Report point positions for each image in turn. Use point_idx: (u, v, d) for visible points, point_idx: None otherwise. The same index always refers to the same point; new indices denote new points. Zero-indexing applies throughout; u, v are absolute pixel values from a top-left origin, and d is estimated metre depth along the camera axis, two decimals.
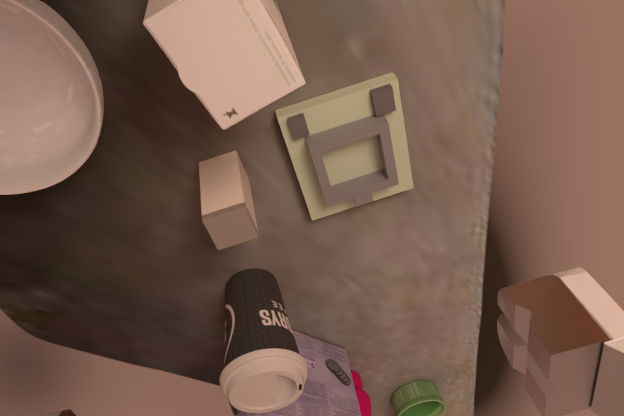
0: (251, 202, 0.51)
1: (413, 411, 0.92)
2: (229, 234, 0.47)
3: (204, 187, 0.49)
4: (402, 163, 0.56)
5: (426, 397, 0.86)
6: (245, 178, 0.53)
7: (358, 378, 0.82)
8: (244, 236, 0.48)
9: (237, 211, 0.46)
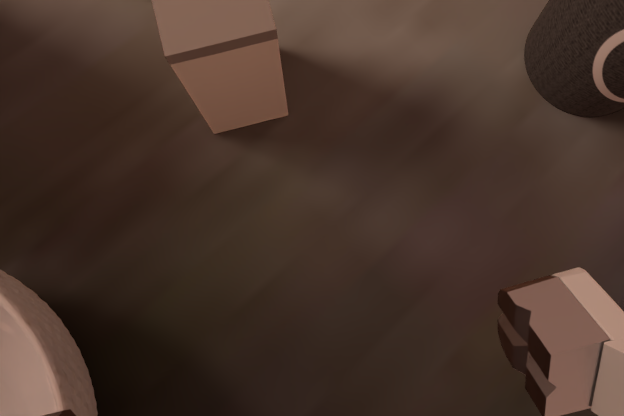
0: None
1: None
2: None
3: None
4: None
5: None
6: None
7: None
8: None
9: None
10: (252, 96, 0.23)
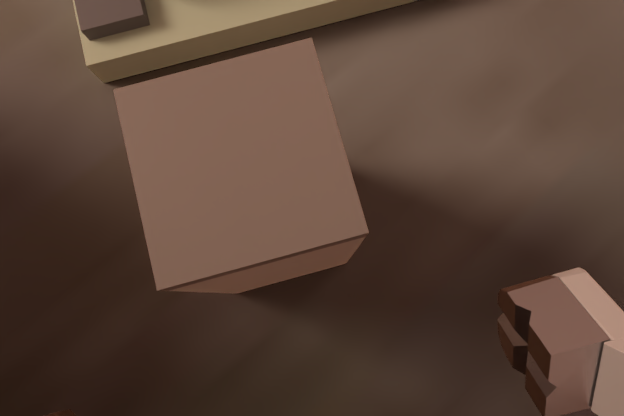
0: None
1: None
2: (269, 168, 0.10)
3: None
4: None
5: None
6: None
7: None
8: (295, 101, 0.10)
9: (133, 125, 0.10)
10: (301, 269, 0.15)
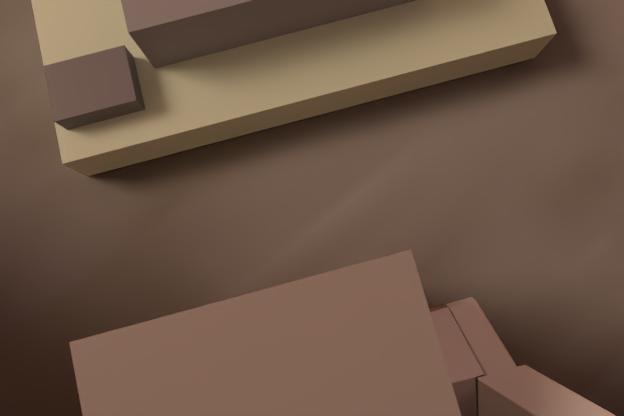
0: None
1: None
2: None
3: None
4: None
5: None
6: None
7: None
8: (385, 369, 0.06)
9: (102, 409, 0.06)
10: None
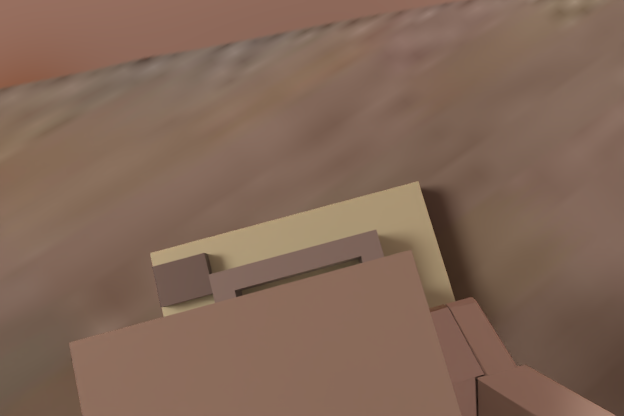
0: None
1: None
2: None
3: None
4: (348, 216, 0.26)
5: None
6: None
7: None
8: (386, 370, 0.06)
9: (102, 411, 0.06)
10: None
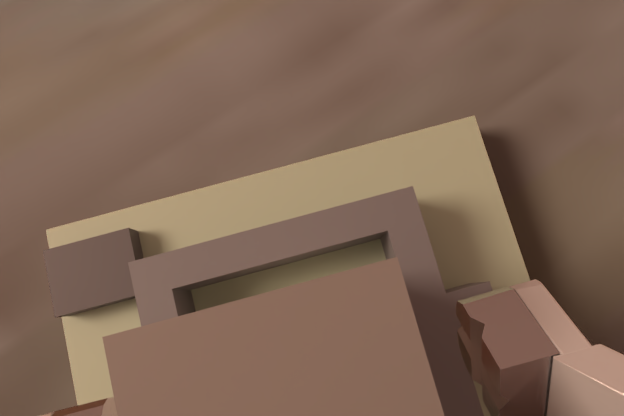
0: None
1: None
2: None
3: None
4: (363, 171, 0.16)
5: None
6: None
7: None
8: (374, 360, 0.07)
9: (131, 395, 0.07)
10: None
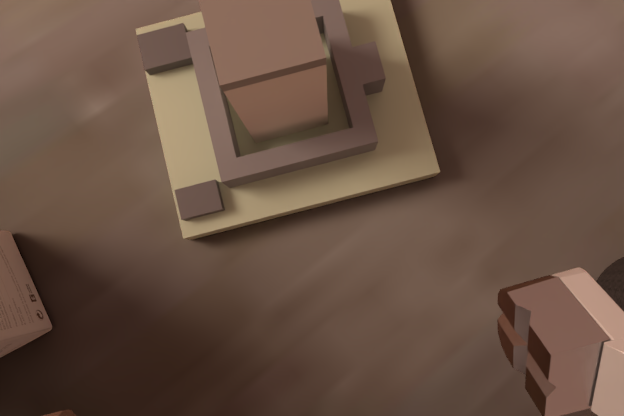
0: None
1: None
2: (276, 25, 0.19)
3: None
4: None
5: None
6: None
7: None
8: None
9: (205, 3, 0.19)
10: (296, 111, 0.24)
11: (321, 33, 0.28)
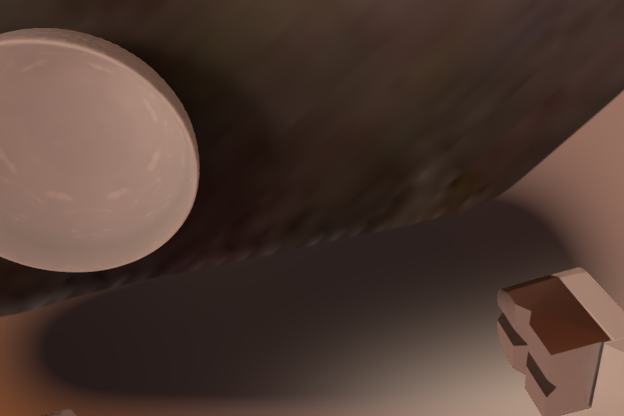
0: None
1: None
2: None
3: None
4: None
5: None
6: None
7: None
8: None
9: None
10: None
11: None
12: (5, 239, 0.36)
